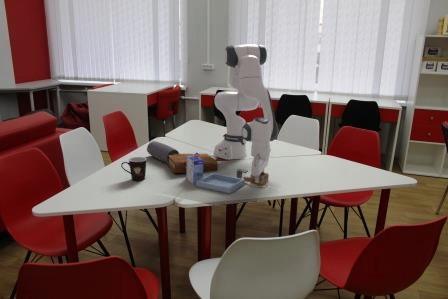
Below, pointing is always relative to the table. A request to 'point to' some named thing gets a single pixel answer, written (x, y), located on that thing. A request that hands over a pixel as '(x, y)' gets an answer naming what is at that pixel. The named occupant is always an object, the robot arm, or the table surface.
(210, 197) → the table surface
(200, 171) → the ink cartridge box
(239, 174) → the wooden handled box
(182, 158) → the diary
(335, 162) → the table surface
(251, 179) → the wooden mooncake mold
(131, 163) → the coffee mug
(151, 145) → the bluetooth speaker
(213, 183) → the tray
